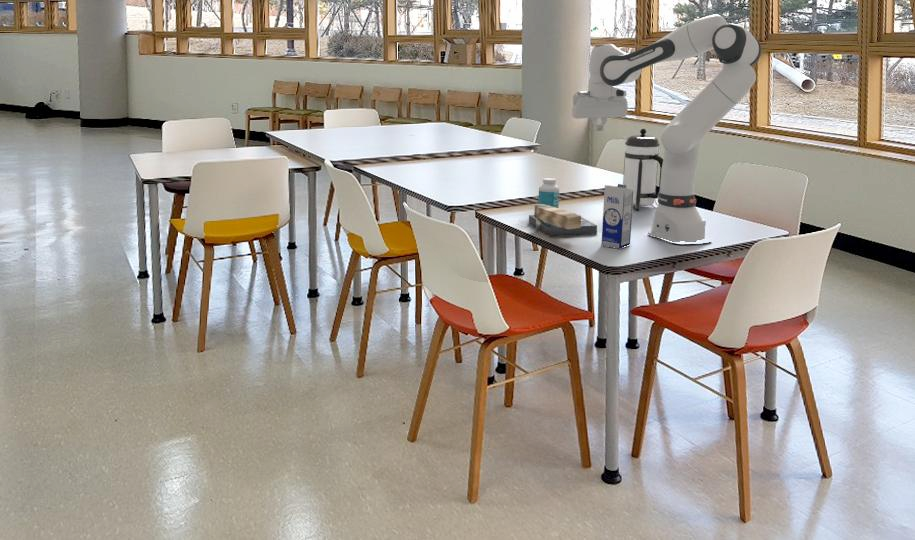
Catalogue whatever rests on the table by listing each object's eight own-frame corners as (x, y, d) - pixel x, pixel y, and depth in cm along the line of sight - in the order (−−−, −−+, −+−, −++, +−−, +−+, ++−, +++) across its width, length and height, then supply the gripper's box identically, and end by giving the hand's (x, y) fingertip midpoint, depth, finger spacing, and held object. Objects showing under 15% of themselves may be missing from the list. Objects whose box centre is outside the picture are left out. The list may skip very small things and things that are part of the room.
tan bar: (531, 216, 325) (531, 205, 324) (543, 215, 328) (543, 203, 327) (568, 229, 308) (568, 217, 307) (580, 227, 310) (581, 215, 309)
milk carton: (600, 245, 306) (604, 184, 300) (611, 242, 311) (614, 181, 305) (620, 249, 302) (624, 187, 296) (630, 245, 307) (634, 184, 301)
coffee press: (615, 210, 359) (620, 130, 351) (621, 202, 374) (625, 125, 365) (662, 213, 354) (668, 132, 346) (666, 205, 369) (671, 127, 361)
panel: (596, 234, 321) (597, 222, 320) (546, 236, 316) (547, 224, 315) (573, 221, 340) (574, 209, 339) (526, 223, 335) (526, 211, 334)
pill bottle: (557, 218, 344) (558, 181, 340) (536, 217, 346) (538, 180, 342) (559, 213, 351) (560, 177, 348) (539, 212, 353) (540, 176, 349)
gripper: (577, 92, 328) (575, 132, 332) (630, 91, 334) (628, 131, 338) (569, 90, 334) (568, 130, 338) (622, 89, 340) (620, 128, 343)
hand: (598, 130), depth 338 cm, fingers closed
